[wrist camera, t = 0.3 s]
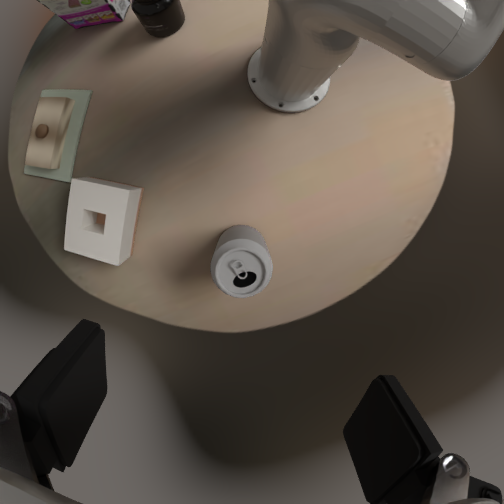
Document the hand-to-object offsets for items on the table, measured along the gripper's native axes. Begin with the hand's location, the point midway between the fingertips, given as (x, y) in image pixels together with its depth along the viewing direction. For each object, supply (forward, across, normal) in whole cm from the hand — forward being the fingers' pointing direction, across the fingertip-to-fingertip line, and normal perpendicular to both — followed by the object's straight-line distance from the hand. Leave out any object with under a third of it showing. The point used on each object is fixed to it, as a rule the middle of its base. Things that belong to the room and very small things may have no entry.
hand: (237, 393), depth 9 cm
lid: (+36, +36, -8) cm, 51 cm away
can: (+36, -1, +4) cm, 37 cm away
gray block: (+36, +21, +4) cm, 42 cm away
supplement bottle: (+36, +20, -30) cm, 51 cm away
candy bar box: (+36, +34, -32) cm, 59 cm away
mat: (+36, +36, -8) cm, 51 cm away
